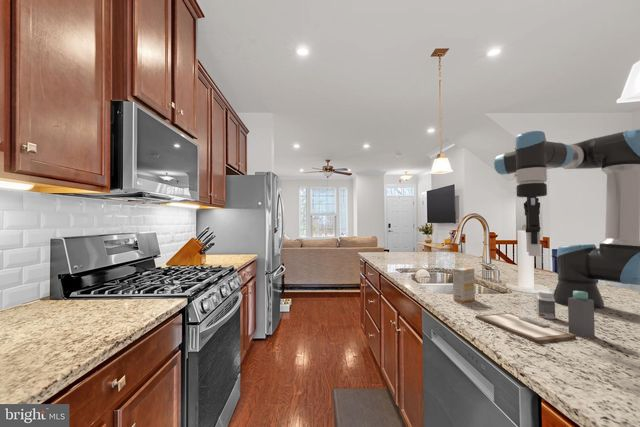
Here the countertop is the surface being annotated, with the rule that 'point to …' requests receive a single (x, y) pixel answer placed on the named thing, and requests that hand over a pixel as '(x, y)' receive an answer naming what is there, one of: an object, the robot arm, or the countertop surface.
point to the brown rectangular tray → (526, 327)
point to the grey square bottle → (581, 315)
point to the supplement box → (463, 284)
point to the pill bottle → (546, 305)
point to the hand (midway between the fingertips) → (533, 253)
